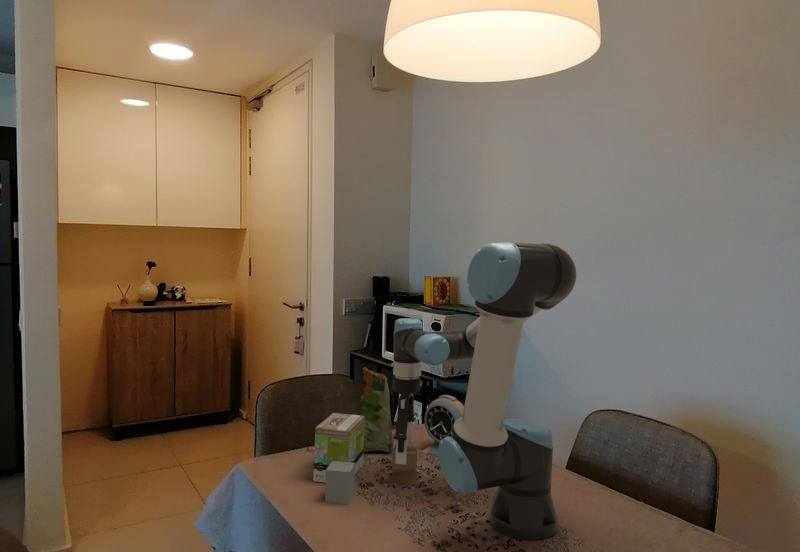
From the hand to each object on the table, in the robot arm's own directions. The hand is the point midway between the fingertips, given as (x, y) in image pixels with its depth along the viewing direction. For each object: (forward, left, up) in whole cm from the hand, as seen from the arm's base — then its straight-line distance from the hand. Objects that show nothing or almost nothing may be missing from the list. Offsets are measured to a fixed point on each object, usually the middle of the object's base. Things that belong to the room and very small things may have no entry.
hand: (404, 454), depth 153 cm
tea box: (0, +18, -7) cm, 19 cm away
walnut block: (0, 0, -7) cm, 7 cm away
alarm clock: (+22, -10, -7) cm, 25 cm away
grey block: (-15, +14, -7) cm, 22 cm away
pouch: (+20, +12, -7) cm, 24 cm away
